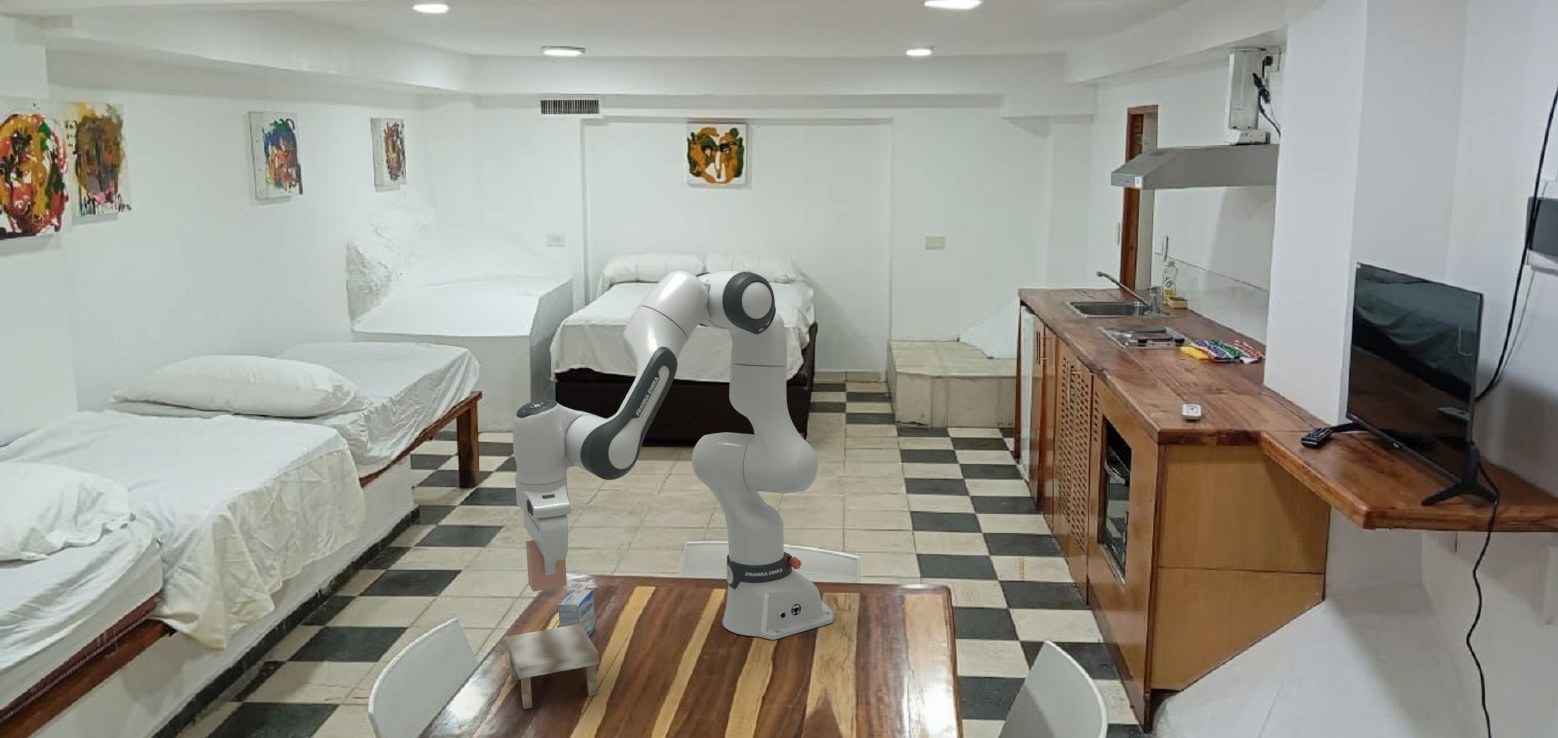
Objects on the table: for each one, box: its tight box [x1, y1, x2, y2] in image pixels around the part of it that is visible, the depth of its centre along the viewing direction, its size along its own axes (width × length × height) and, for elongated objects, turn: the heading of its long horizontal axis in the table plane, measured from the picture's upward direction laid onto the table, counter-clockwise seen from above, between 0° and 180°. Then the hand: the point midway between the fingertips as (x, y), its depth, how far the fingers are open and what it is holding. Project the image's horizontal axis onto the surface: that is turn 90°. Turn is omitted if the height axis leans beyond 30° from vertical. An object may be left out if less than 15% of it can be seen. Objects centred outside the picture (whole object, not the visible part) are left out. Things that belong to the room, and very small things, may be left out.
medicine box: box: [557, 588, 596, 638], centre depth 239 cm, size 8×4×9 cm, turn 168°
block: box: [525, 539, 568, 592], centre depth 215 cm, size 4×6×8 cm, turn 112°
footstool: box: [504, 624, 600, 710], centre depth 218 cm, size 14×14×8 cm
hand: (546, 568), depth 215 cm, fingers closed on block, 4 cm apart
